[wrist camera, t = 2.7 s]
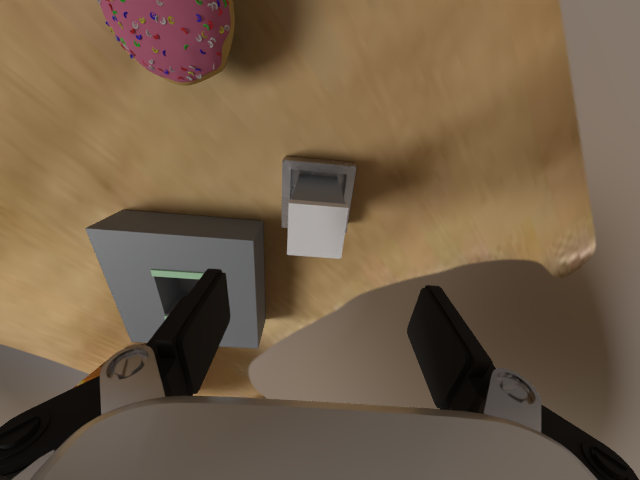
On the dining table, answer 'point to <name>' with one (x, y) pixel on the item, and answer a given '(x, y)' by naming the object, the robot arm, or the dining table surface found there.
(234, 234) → the port block
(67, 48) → the dining table surface
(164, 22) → the cupcake
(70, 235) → the dining table surface
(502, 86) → the dining table surface
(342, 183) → the box
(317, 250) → the plug
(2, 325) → the dining table surface
